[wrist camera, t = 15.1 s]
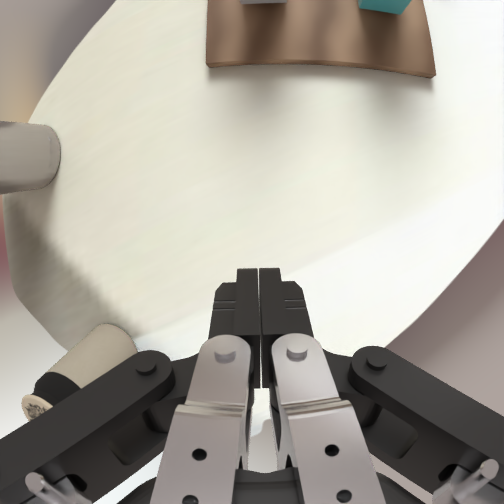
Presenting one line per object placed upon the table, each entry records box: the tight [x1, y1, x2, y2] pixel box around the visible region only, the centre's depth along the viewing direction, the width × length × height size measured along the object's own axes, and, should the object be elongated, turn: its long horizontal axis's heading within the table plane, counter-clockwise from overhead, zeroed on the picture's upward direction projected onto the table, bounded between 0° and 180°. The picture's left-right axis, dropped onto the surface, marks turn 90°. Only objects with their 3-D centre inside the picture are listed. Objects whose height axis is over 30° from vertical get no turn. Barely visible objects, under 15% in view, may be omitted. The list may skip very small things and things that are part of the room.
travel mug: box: [22, 324, 137, 421], centre depth 33 cm, size 8×8×18 cm
